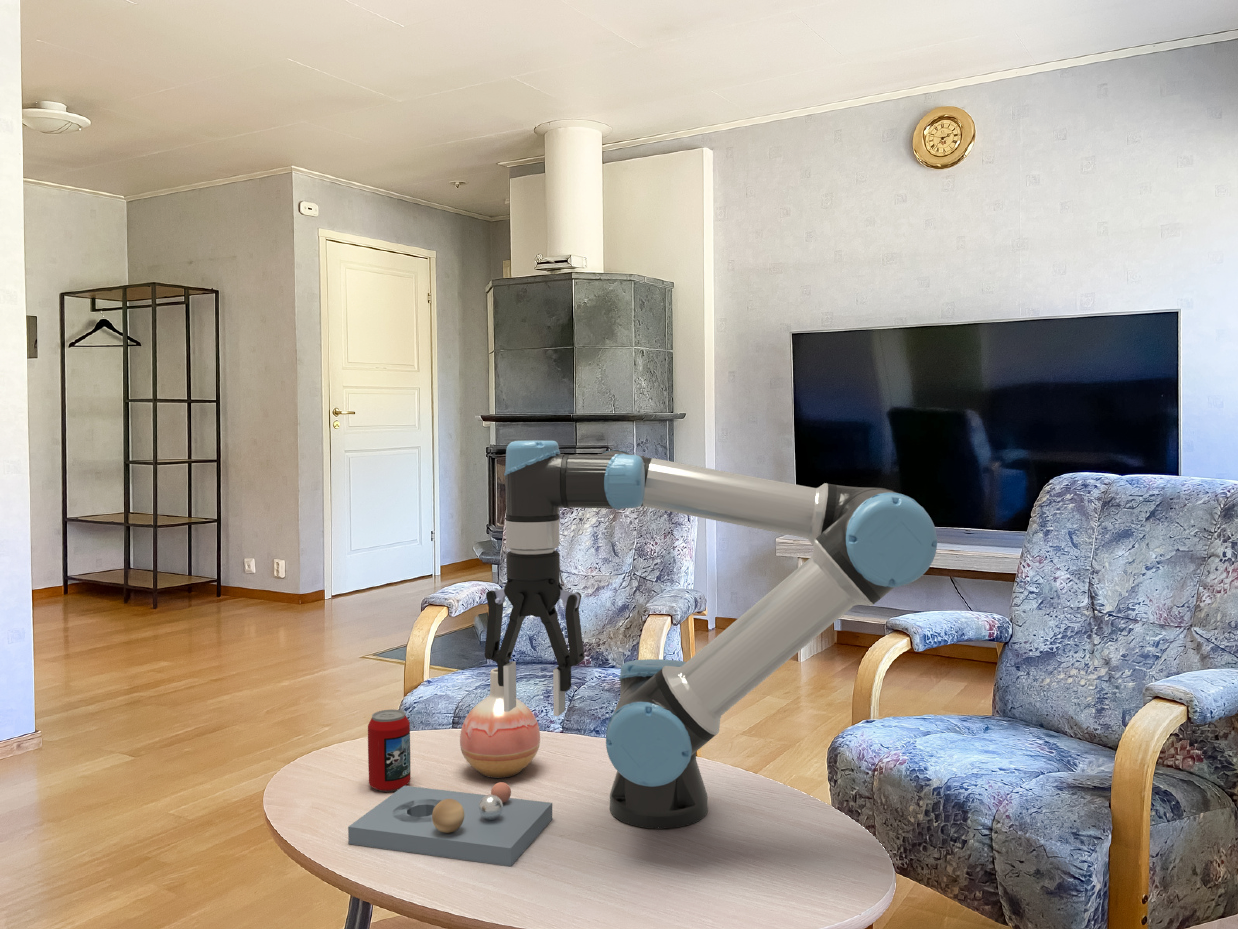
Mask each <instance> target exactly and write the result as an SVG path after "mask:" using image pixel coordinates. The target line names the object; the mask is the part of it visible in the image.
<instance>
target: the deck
mask: <svg viewBox="0 0 1238 929" xmlns="http://www.w3.org/2000/svg"><path fill="white" fill-rule="evenodd" d="M486 795H487V794H481V793H480V794H479V793H471V792H463V791H454V790H448V789H447V790H445V789H437V788H428V787H421V786H412V785H405V786H403V787H402V788H400V789H399V790H395V791H394V793H392V794H390V796H388V797H387V798H385V799H384V800H383V801H381V802H380V803H378V804H377V805H376V806H375V807H373V808H372V809H371V810H369V811H368V812H366V813H365V814H364V815H362V816H361V817H359V818H358V819H356V820H355V821H354V822H352V823H351V824H350V825H348V827H347V832H348V833H347V835H348V838H347V839H348V840H347V841H348V845H354V846H361V847H367V848H376V849H382V850H389V851H398V852H405V853H412V854H417V855H419V854H420V855H427V856H433V857H440V858H448V859H454V860H462V861H469V862H476V863H483V864H492V865H499V866H505V867H512V866H513V865H514V863H515V862H516V861H517V860H518V859H519V858H520V856H522V854H523V853H524V852H525V851H526V850H527V849H528V847H529V846H531V844H532V843H533V841H534V840H536V838H537V837H538V836H539V835H540V834H541V833H542V832H543V830H544V829H545V828H546V827H548V825H549V823H550V822H552V820H553V802H549V801H539V800H533V799H522V798H513V797H510V798H509V799H508V800H507V801H506V802H504V803H502V804H503V809H502V812H501V814H500V816H499V817H498V818H496V819H494V820H486V819H484V818H483V817H482V816H481V815H480V813H479V809H478V807H479V803H480V801H481V799H482V798H483V797H485V796H486ZM445 799H453V800H456V801H458V802H459V803H460V804H461V805H462V807H463V809H464V820H463V823H462V825H461V826H460V827H459V828H458V829H457V830H456V831H454V832H451V833H444V832H441V831H439V830H438V829H437V828H436V827H435V826H434V824H433V821H432V812H433V810H434V808H435V806H436V805H437V804H438V803H439V802H440V801H442V800H445Z"/></svg>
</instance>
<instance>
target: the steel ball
mask: <svg viewBox="0 0 1238 929" xmlns="http://www.w3.org/2000/svg"><path fill="white" fill-rule="evenodd" d="M485 795H486V796H485V797H483V798H482V799H481V801H480V803H479V807H478V809H479V813H480V815H481V816H482V817H483V818H484V819H486V820H494V819H496V818H498V817H499V816H500V814H501V812H502V809H503V804H502V801H501V799H500V798H499V797H498V796H496V795H492V794H491V793H490V794H485Z"/></svg>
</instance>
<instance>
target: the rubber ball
mask: <svg viewBox="0 0 1238 929" xmlns="http://www.w3.org/2000/svg"><path fill="white" fill-rule="evenodd" d="M490 794H492V795H496V796H498V797H499V798H500V799H501V801H502V803H504V802H506V801H507V800H508V799H509V798H511V796H512V795H511V794H512V790H511V787H510V785H508V783H507V782H501V781H500V782H499V781H498V782H497V783H495V784H494V785H493V786H492V787H491V791H490Z"/></svg>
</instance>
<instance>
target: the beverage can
mask: <svg viewBox="0 0 1238 929" xmlns="http://www.w3.org/2000/svg"><path fill="white" fill-rule="evenodd" d="M410 726H411V723H410V720H409V719H408V717H407V715H406V712H405V711H404V710H401V709H383V710H379V711H376V712H374V713H373V714H371V718H370V721H369V722H368V725H367V756H368V759H367V762H368V768H367V769H368V785H369V786H370V787H371V788H373V789H375V790H377V791H378V790H379V792H384V791H385V793H387V792H396V791H398V790H399V789H400V788H402V787H403V786H408V784H409V783H410V782H411V778H412V777H411V728H410Z"/></svg>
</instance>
